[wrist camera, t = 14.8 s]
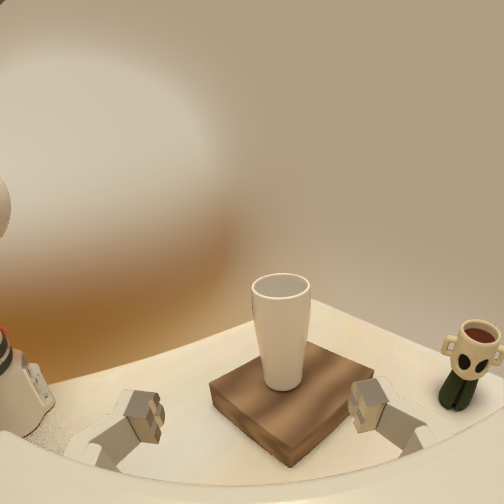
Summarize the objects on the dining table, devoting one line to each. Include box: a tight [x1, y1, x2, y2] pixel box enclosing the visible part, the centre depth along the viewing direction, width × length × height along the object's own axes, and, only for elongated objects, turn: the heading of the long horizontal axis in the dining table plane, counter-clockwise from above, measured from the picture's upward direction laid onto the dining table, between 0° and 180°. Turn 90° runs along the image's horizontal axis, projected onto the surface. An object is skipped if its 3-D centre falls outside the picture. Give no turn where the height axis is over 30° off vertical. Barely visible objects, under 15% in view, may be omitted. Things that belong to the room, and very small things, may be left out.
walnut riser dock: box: [209, 341, 374, 468], centre depth 37 cm, size 16×18×5 cm
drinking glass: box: [251, 273, 311, 391], centre depth 34 cm, size 7×7×15 cm
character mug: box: [439, 319, 504, 410], centre depth 28 cm, size 11×7×13 cm, turn 48°
